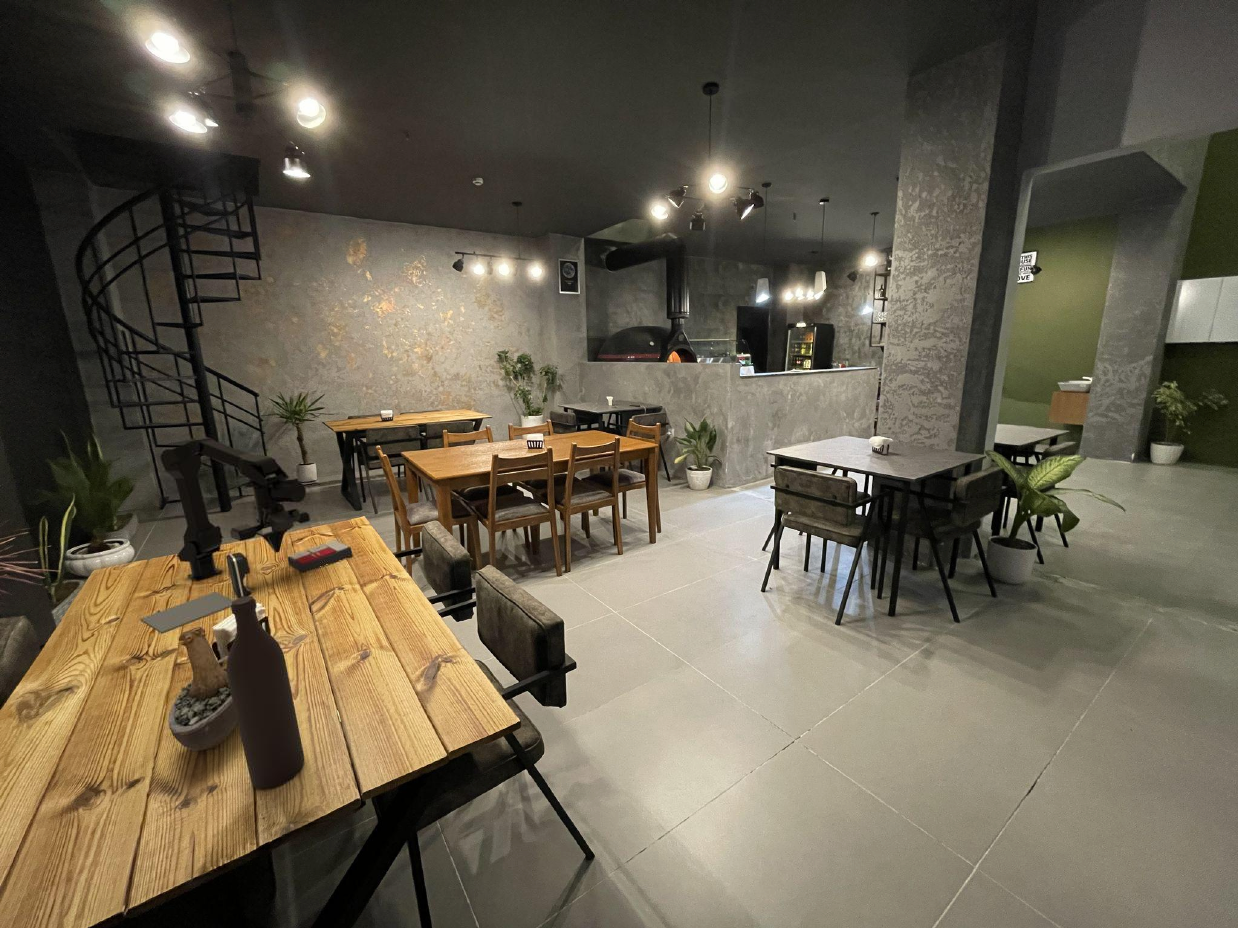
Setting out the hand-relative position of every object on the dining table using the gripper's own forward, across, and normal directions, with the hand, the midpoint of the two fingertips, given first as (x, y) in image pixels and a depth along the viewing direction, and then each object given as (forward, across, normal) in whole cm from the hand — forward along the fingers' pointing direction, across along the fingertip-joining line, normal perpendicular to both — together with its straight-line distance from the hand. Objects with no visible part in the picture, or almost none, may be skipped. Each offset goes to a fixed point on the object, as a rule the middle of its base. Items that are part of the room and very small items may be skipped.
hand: (277, 551), depth 144 cm
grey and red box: (+9, +13, +2) cm, 16 cm away
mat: (+8, -22, 0) cm, 23 cm away
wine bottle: (+8, -38, -75) cm, 85 cm away
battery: (+9, -10, 0) cm, 13 cm away
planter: (+8, -38, -56) cm, 68 cm away
